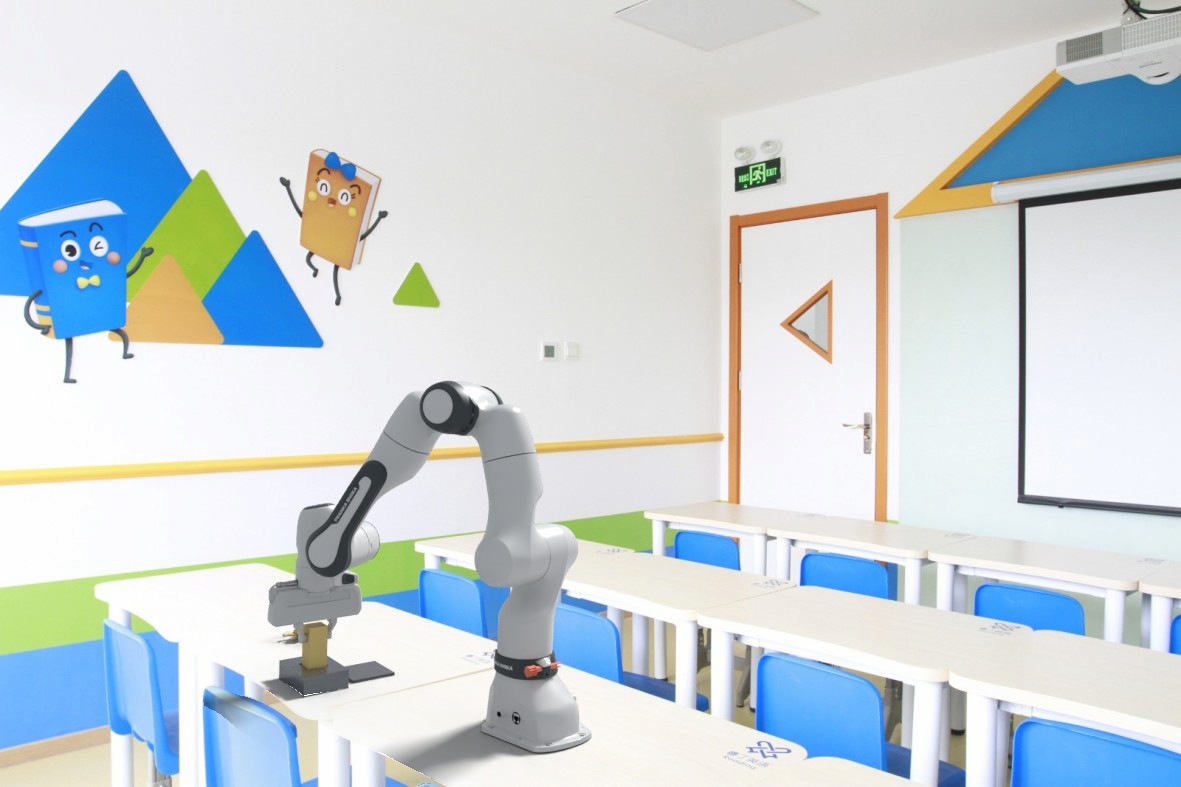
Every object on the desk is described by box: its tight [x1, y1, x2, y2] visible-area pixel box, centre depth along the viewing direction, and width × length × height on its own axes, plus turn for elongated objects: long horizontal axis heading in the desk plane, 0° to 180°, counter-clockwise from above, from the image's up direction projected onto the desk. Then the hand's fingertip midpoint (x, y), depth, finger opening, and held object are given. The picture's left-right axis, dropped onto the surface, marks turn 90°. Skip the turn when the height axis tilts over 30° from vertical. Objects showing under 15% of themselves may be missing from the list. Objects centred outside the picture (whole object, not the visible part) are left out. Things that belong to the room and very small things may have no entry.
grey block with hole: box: [278, 655, 350, 697], centre depth 197 cm, size 14×10×4 cm
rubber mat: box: [343, 660, 395, 684], centre depth 205 cm, size 10×10×1 cm
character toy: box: [281, 628, 303, 640], centre depth 229 cm, size 8×3×8 cm
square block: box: [301, 621, 328, 670], centre depth 197 cm, size 4×4×10 cm
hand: (315, 640), depth 197 cm, fingers closed on square block, 4 cm apart
